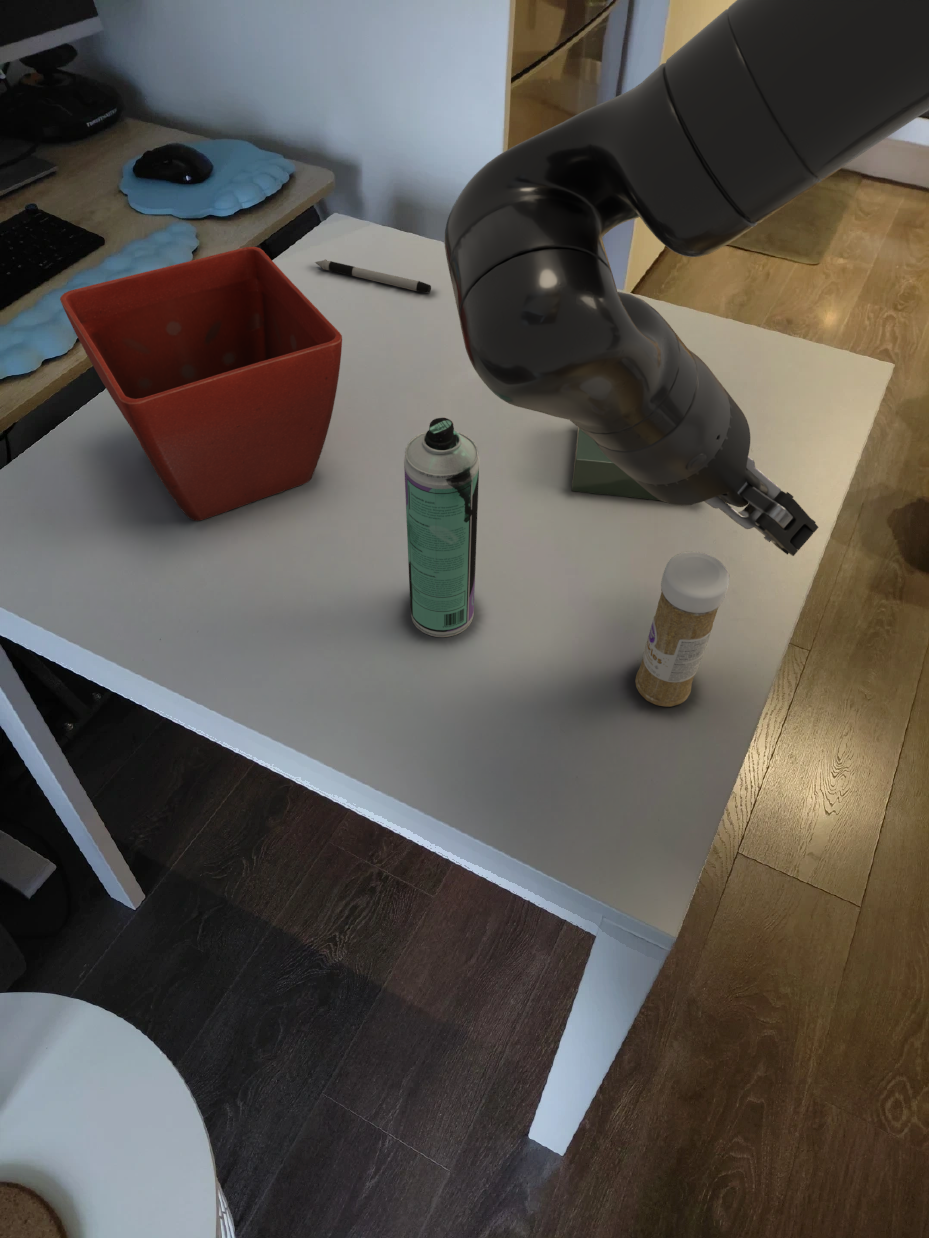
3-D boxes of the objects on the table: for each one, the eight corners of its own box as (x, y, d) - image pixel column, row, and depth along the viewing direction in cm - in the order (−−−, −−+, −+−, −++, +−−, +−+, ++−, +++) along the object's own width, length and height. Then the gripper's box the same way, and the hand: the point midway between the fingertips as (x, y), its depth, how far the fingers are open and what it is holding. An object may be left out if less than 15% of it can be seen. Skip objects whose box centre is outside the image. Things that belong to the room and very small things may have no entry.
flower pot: (360, 489, 89) (347, 336, 76) (173, 559, 82) (123, 404, 69) (281, 391, 99) (257, 242, 87) (109, 446, 92) (55, 293, 80)
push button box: (691, 441, 95) (704, 393, 90) (693, 504, 88) (707, 455, 83) (577, 430, 96) (584, 381, 91) (571, 491, 89) (578, 442, 84)
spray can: (485, 606, 79) (495, 417, 64) (451, 647, 76) (453, 458, 61) (433, 581, 81) (430, 392, 65) (398, 620, 77) (387, 431, 62)
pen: (427, 296, 113) (427, 286, 112) (312, 269, 117) (311, 259, 116) (432, 291, 114) (432, 281, 113) (317, 264, 118) (316, 255, 117)
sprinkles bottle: (626, 670, 74) (655, 554, 64) (677, 660, 75) (714, 544, 65) (647, 714, 71) (681, 600, 61) (700, 703, 72) (742, 589, 62)
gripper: (802, 430, 49) (861, 519, 62) (626, 319, 57) (711, 419, 70) (711, 539, 51) (786, 602, 64) (552, 416, 58) (648, 496, 72)
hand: (747, 506), depth 67 cm, fingers open, 8 cm apart
